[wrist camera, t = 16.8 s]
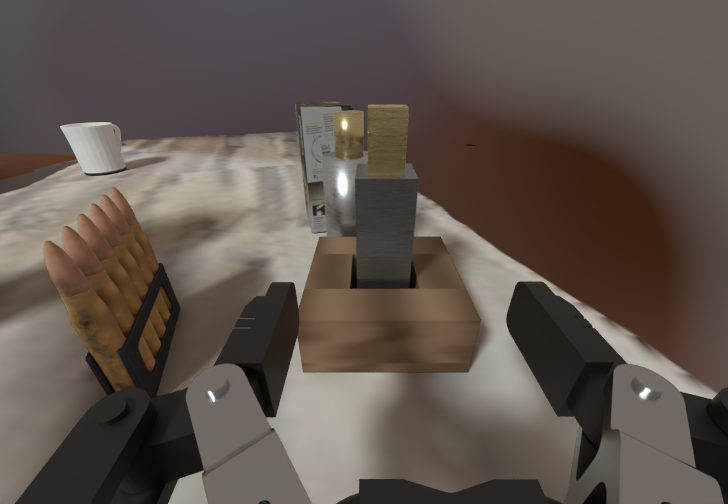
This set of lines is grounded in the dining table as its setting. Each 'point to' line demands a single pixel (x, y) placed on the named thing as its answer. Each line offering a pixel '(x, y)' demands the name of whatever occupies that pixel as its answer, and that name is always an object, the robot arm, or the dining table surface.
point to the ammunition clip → (115, 296)
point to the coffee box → (316, 153)
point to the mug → (96, 147)
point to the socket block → (385, 314)
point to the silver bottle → (343, 173)
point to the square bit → (385, 202)
